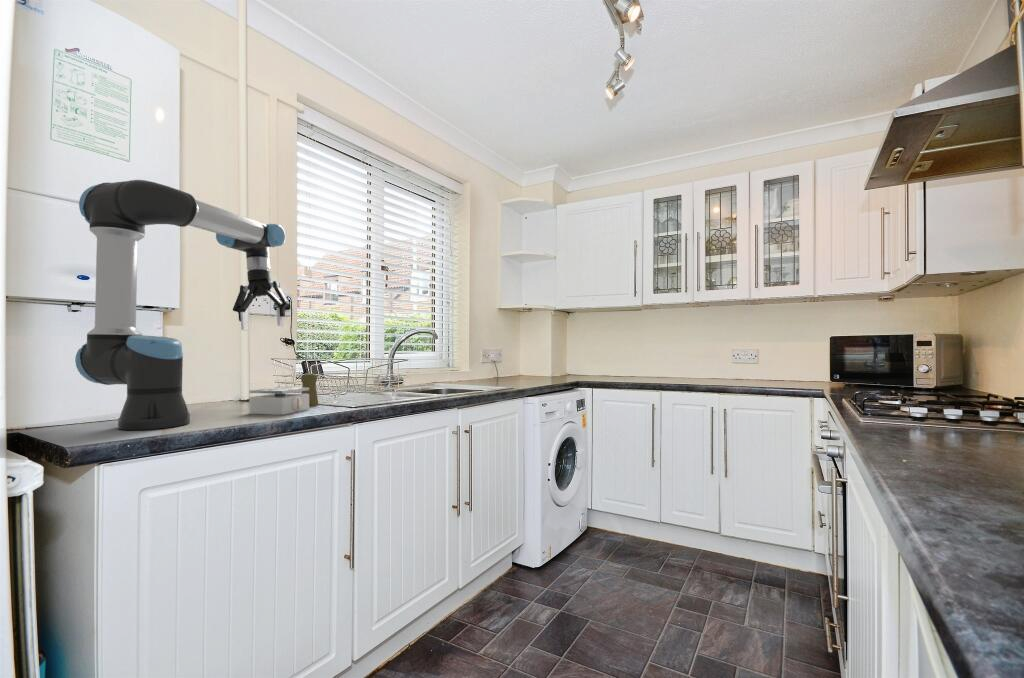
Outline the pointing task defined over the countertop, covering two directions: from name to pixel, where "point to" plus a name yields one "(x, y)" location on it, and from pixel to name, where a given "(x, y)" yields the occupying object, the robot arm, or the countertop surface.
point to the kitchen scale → (278, 403)
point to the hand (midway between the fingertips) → (262, 328)
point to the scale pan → (279, 390)
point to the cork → (310, 387)
